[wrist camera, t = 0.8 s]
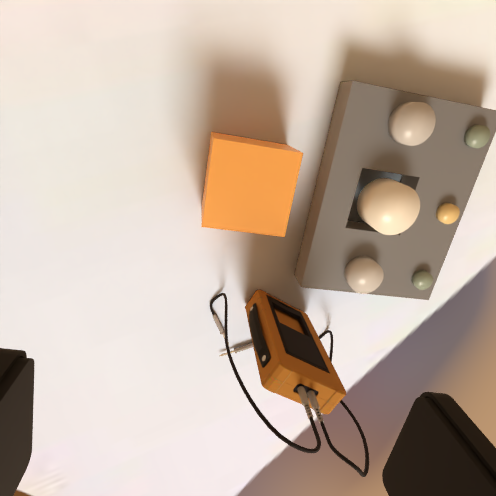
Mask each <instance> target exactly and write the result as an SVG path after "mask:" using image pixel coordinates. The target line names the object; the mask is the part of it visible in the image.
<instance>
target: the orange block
mask: <svg viewBox="0 0 496 496" xmlns="http://www.w3.org/2000/svg"><path fill="white" fill-rule="evenodd" d="M302 156H303V153H302V152H300V151H298V150H296V149H294V148H292V147H291V146H289V145H286V144H280V143H274V142H268V141H262V140H256V139H250V138H245V137H239V136H233V135H227V134H221V133H215V132H211V138H210V146H209V154H208V162H207V169H206V177H205V185H204V193H203V200H202V227H208V228H216V229H224V230H232V231H240V232H248V233H256V234H264V235H273V236H281V237H285V233H286V228H287V224H288V219H289V215H290V210H291V206H292V201H293V197H294V192H295V188H296V183H297V179H298V174H299V169H300V165H301V160H302Z"/></svg>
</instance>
